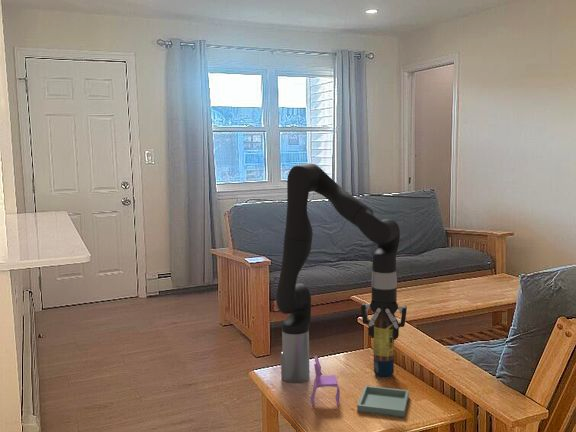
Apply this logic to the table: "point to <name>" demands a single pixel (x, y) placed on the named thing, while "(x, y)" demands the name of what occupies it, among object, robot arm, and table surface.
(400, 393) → the tray
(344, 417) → the table surface
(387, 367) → the soda can
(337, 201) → the robot arm
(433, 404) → the table surface
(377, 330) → the sauce bottle
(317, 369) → the chair
